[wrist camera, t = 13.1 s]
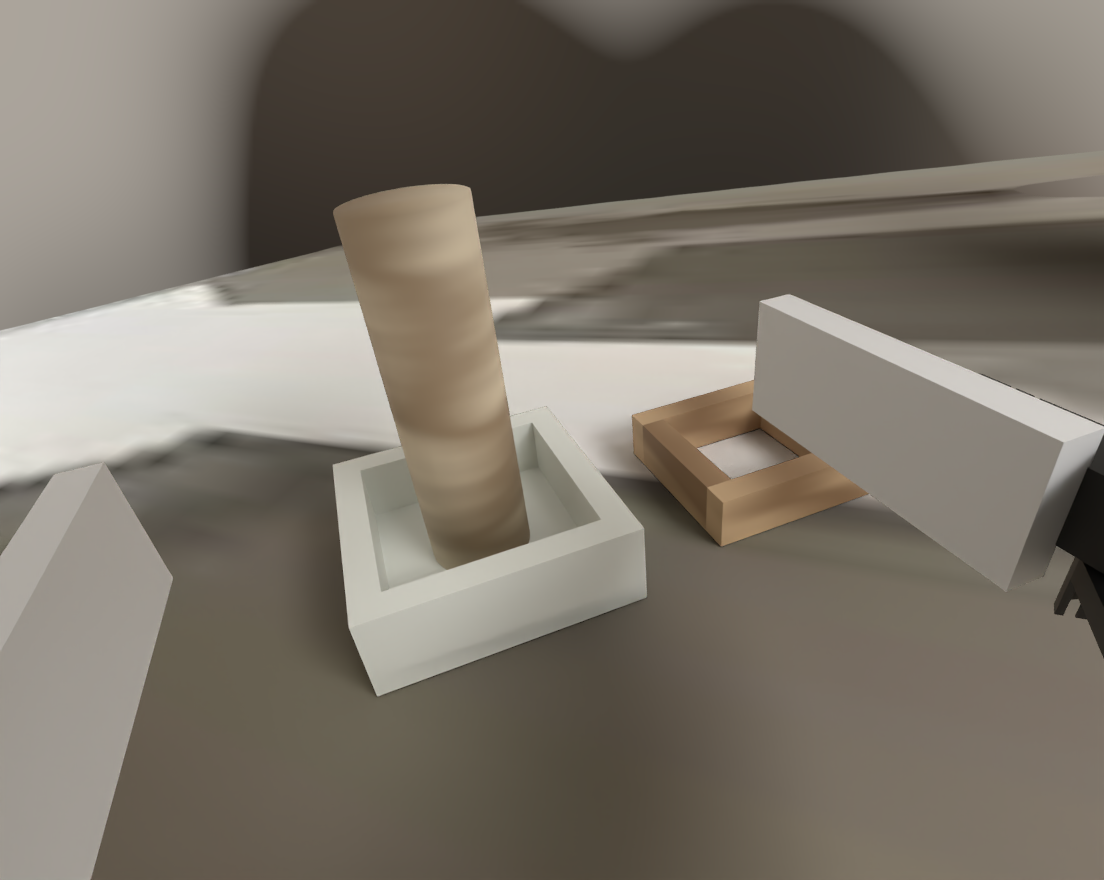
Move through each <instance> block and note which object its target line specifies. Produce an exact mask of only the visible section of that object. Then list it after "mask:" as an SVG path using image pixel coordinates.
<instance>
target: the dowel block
mask: <svg viewBox="0 0 1104 880" xmlns="http://www.w3.org/2000/svg"><path fill="white" fill-rule="evenodd" d="M753 390H754V380H752V381H749V382H745V383H742V384H738V385H735V386H731V387H728V388H724V389H721V390H717V391H714V392H711V393H707V394H704V395H700V396H697V397H693V398H690V399H686V400H683V401H679V402H676V403H672V404H669V405H665V406H662V407H658V408H655V409H651V410H648V411H645V412H641V413H638V414H634V415H632V426H633V447H634V454H635V455H636V456H637V457H638V458H639V459H640V460H641V461H642V463H643V464H644V465H645V466H646V467H647V468H648V469H649V470H650V471H651V472H652V473H653V474H654V475H655V476H656V478H657V479H658V480H659V481H660V482H661V483H662V484H663V485H664V486H665V487H666V488H667V489H668V490H669V491H670V493H671V494H672V495H673V496H674V497H675V498H676V499H677V500H678V501H679V502H680V503H681V504H682V505H683V506H684V507H685V509H686V510H687V511H688V512H689V513H690V514H691V515H692V516H693V517H694V518H695V519H696V520H697V521H698V522H699V524H700V525H701V526H702V527H703V528H704V529H705V530H706V531H707V532H708V533H709V534H710V535H711V536H712V537H713V539H714V540H715V541H716V542H717V543H718V544H719V545H720V546H721V547H722V546H724V545H727V544H730V543H733V542H736V541H738V540H741V539H744V538H747V537H750V536H752V535H755V534H758V533H761V532H764V531H766V530H769V529H772V528H775V527H778V526H780V525H783V524H786V523H789V522H791V521H794V520H797V519H800V518H803V517H805V516H808V515H811V514H814V513H817V512H819V511H822V510H825V509H828V508H831V507H833V506H836V505H839V504H842V503H845V502H847V501H850V500H853V499H856V498H859V497H861V496H864V495H867V494H869V493H867V492H866V491H865V490H863V489H862V488H860V487H859V486H858V485H856V484H855V483H853V482H852V481H851V480H849V479H848V478H846V477H845V476H844V475H842V474H841V473H839V472H838V471H837V470H835V469H834V468H832V467H831V466H830V465H828V464H827V463H825V462H824V461H823V460H821V459H820V458H818V457H817V456H816V455H814V454H813V453H811V452H810V451H809V450H807V449H806V448H804V447H803V446H802V445H800V444H799V443H797V442H796V441H795V440H793V439H792V438H790V437H789V436H788V435H786V434H785V433H783V432H782V431H781V430H779V429H778V428H776V427H775V426H774V425H772V424H771V423H769V422H768V421H767V420H765V419H764V418H762V417H761V416H760V415H758V414H757V413H756V412H754V411H753V410H752V404H753ZM759 428H761V429H762V430H764V431H765V432H766V433H768V434H769V435H771V436H772V437H773V438H775V439H776V440H777V441H779V442H780V443H782V444H783V445H784V446H786V447H787V448H788V449H790V450H791V451H793V452H794V453H795V454H797V455H798V456H800V457H798V458H795V459H792V460H789V461H786V462H783V463H780V464H777V465H774V466H771V467H768V468H765V469H762V470H759V471H756V472H753V473H750V474H747V475H744V476H741V477H737V478H734V479H730V478H729V477H728V476H727V475H726V474H725V473H723V472H722V471H721V470H720V469H719V468H718V467H717V466H716V465H714V464H713V463H712V462H711V461H710V460H709V459H708V458H707V457H705V456H704V455H703V454H702V453H701V452H700V451H699V450H698V449H697V448H698V447H701V446H704V445H707V444H711V443H714V442H717V441H720V440H724V439H727V438H730V437H733V436H736V435H740V434H743V433H746V432H749V431H753V430H756V429H759Z"/></svg>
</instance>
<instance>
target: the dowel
mask: <svg viewBox="0 0 1104 880" xmlns="http://www.w3.org/2000/svg"><path fill="white" fill-rule="evenodd" d="M333 214H334V217H335V221H336V224H337V228H338V231H339V235H340V238H341V242H342V245H343V248H344V252H345V255H346V259H347V262H348V265H349V269H350V272H351V275H352V279H353V282H354V286H355V289H356V292H357V296H358V299H359V303H360V306H361V309H362V313H363V316H364V319H365V323H366V326H367V330H368V333H369V336H370V340H371V343H372V347H373V350H374V353H375V357H376V360H377V364H378V367H379V370H380V374H381V377H382V380H383V384H384V387H385V391H386V394H387V397H388V401H389V404H390V408H391V411H392V414H393V418H394V421H395V424H396V428H397V431H398V435H399V438H400V441H401V445H402V448H403V452H404V455H405V458H406V462H407V465H408V469H409V472H410V475H411V479H412V482H413V485H414V489H415V492H416V496H417V499H418V502H419V506H420V509H421V513H422V516H423V519H424V523H425V526H426V530H427V533H428V536H429V540H430V543H431V546H432V550H433V553H434V556H435V559H436V560H437V562H438V563H439V564H440V565H441V566H442V567H443V568H445V569H446V570H449V569H452V568H455V567H458V566H461V565H464V564H467V563H470V562H473V561H476V560H480V559H483V558H486V557H489V556H492V555H495V554H498V553H501V552H504V551H507V550H510V549H513V548H516V547H519V546H522V545H525V544H528V543H529V539H530V529H529V524H528V518H527V512H526V506H525V500H524V495H523V489H522V483H521V477H520V472H519V466H518V460H517V454H516V448H515V443H514V437H513V431H512V425H511V420H510V414H509V408H508V402H507V396H506V391H505V385H504V379H503V373H502V368H501V362H500V356H499V350H498V344H497V339H496V333H495V327H494V321H493V316H492V310H491V304H490V298H489V292H488V287H487V281H486V275H485V269H484V264H483V258H482V252H481V246H480V240H479V235H478V229H477V223H476V217H475V212H474V206H473V200H472V195H471V190H470V188H469V187H466V186H463V185H455V184H433V185H421V186H412V187H405V188H399V189H393V190H388V191H383V192H379V193H375V194H370V195H367V196H363V197H360V198H357V199H354V200H351V201H348V202H346V203H344V204H342V205H340V206H338V207H337V208H336V209H335V210H334V211H333Z"/></svg>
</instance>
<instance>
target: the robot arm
mask: <svg viewBox="0 0 1104 880" xmlns="http://www.w3.org/2000/svg"><path fill="white" fill-rule="evenodd" d="M752 410H753V411H754V412H756V413H757V414H758V415H760V416H761V417H762V418H764V419H765V420H767V421H768V422H769V423H771V424H772V425H774V426H775V427H776V428H778V429H779V430H781V431H782V432H783V433H785V434H786V435H788V436H789V437H790V438H792V439H793V440H795V441H796V442H797V443H799V444H800V445H802V446H803V447H804V448H806V449H807V450H809V451H810V452H811V453H813V454H814V455H816V456H817V457H818V458H820V459H821V460H823V461H824V462H825V463H827V464H828V465H830V466H831V467H832V468H834V469H835V470H837V471H838V472H839V473H841V474H842V475H844V476H845V477H846V478H848V479H849V480H851V481H852V482H853V483H855V484H856V485H858V486H859V487H860V488H862V489H863V490H865V491H866V492H867V493H869V494H870V495H871V496H873V497H874V498H876V499H877V500H878V501H880V502H881V503H883V504H884V505H885V506H887V507H888V508H890V509H891V510H892V511H894V512H895V513H897V514H898V515H899V516H901V517H902V518H904V519H905V520H906V521H908V522H909V523H911V524H912V525H913V526H915V527H916V528H918V529H919V530H920V531H922V532H923V533H925V534H926V535H927V536H929V537H930V538H932V539H933V540H934V541H936V542H937V543H939V544H940V545H941V546H943V547H944V548H946V549H947V550H948V551H950V552H951V553H953V554H954V555H955V556H957V557H958V558H960V559H961V560H962V561H964V562H965V563H967V564H968V565H969V566H971V567H972V568H974V569H975V570H976V571H978V572H979V573H980V574H982V575H983V576H985V577H986V578H987V579H989V580H990V581H992V582H993V583H994V584H996V585H997V586H999V587H1000V588H1001V589H1003V590H1004V591H1006V592H1007V591H1009V590H1012V589H1014V588H1017V587H1019V586H1022V585H1024V584H1026V583H1029V582H1031V581H1034V580H1036V579H1039V578H1041V577H1043V576H1044V574H1045V572H1046V569H1047V567H1048V565H1049V562H1050V560H1051V557H1052V555H1053V553H1054V550H1055V548H1056V546H1058V547H1060V548H1061V549H1063V550H1065V551H1066V552H1068V553H1070V554H1071V555H1073V556H1075V558H1074V561H1073V563H1072V565H1071V567H1070V570H1069V572H1068V574H1067V576H1066V578H1065V581H1064V583H1063V585H1062V587H1061V589H1060V592H1059V594H1058V596H1057V598H1056V601H1055V603H1054V614H1057V615H1064V612H1065V610H1066V608H1067V606H1068V604H1069V602H1070V600H1072V599H1079V601H1080V603H1081V605H1080V607H1079V609H1078V611H1077V613H1076V615H1075V617H1076V618H1081V619H1087V620H1088V622H1089V625H1090V627H1091V629H1092V632H1093V634H1094V636H1095V639H1096V641H1097V644H1098V646H1099V648H1100V651H1101V653H1102V655H1103V658H1104V425H1102V424H1100V423H1097V422H1095V421H1093V420H1090V419H1088V418H1086V417H1083V416H1081V415H1078V414H1076V413H1074V412H1071V411H1069V410H1066V409H1064V408H1062V407H1059V406H1057V405H1054V404H1052V403H1050V402H1047V401H1045V400H1043V399H1037V398H1035V397H1034V396H1033V395H1031V394H1028V393H1026V392H1023V391H1021V390H1019V389H1013V388H1011V386H1009V385H1007V384H1004V383H1002V382H1000V381H997V380H995V379H992V378H990V377H988V376H985V375H983V374H979V373H975V372H973V371H971V370H968V369H966V368H964V367H961V366H959V365H956V364H954V363H952V362H949V361H947V360H945V359H942V358H940V357H937V356H935V355H933V354H930V353H928V352H926V351H923V350H921V349H918V348H916V347H914V346H911V345H909V344H906V343H904V342H902V341H899V340H897V339H895V338H892V337H890V336H887V335H885V334H883V333H880V332H878V331H876V330H873V329H871V328H868V327H866V326H864V325H861V324H859V323H857V322H854V321H852V320H849V319H847V318H845V317H842V316H840V315H838V314H835V313H833V312H830V311H828V310H826V309H823V308H821V307H819V306H816V305H814V304H811V303H809V302H807V301H804V300H802V299H800V298H797V297H795V296H792V295H790V294H788V295H784V296H780V297H776V298H771V299H767V300H763V301H760V304H759V318H758V333H757V347H756V361H755V376H754V390H753V404H752ZM172 580H173V577H172V575H171V574H170V572H169V570H168V569H167V567H166V565H165V564H164V562H163V560H162V559H161V557H160V555H159V554H158V552H157V550H156V548H155V547H154V545H153V543H152V542H151V540H150V538H149V537H148V535H147V533H146V532H145V530H144V528H143V527H142V525H141V523H140V522H139V520H138V518H137V516H136V515H135V513H134V511H133V510H132V508H131V506H130V505H129V503H128V501H127V500H126V498H125V496H124V495H123V493H122V491H121V490H120V488H119V486H118V485H117V483H116V481H115V479H114V478H113V476H112V474H111V473H110V471H109V469H108V468H107V466H106V464H105V463H104V462H102V463H98V464H93V465H89V466H85V467H81V468H77V469H73V470H69V471H65V472H61V473H57V474H54V475H53V477H52V478H51V480H50V481H49V483H48V484H47V486H46V487H45V489H44V490H43V492H42V494H41V495H40V497H39V498H38V500H37V501H36V503H35V504H34V506H33V507H32V509H31V510H30V512H29V513H28V515H27V516H26V518H25V519H24V521H23V522H22V524H21V525H20V527H19V528H18V530H17V532H16V533H15V535H14V536H13V538H12V539H11V541H10V542H9V544H8V545H7V547H6V548H5V550H4V551H3V553H2V554H1V556H0V880H91V877H92V873H93V870H94V866H95V862H96V859H97V855H98V851H99V848H100V844H101V840H102V837H103V833H104V829H105V826H106V822H107V818H108V815H109V811H110V807H111V804H112V800H113V796H114V793H115V789H116V785H117V782H118V778H119V774H120V771H121V767H122V763H123V760H124V756H125V752H126V749H127V745H128V741H129V738H130V734H131V731H132V727H133V723H134V720H135V716H136V712H137V709H138V705H139V701H140V698H141V694H142V690H143V687H144V683H145V679H146V676H147V672H148V668H149V665H150V661H151V657H152V654H153V650H154V646H155V643H156V639H157V635H158V632H159V628H160V624H161V621H162V617H163V613H164V610H165V606H166V602H167V599H168V595H169V591H170V588H171V584H172Z"/></svg>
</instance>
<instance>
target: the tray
mask: <svg viewBox="0 0 1104 880" xmlns="http://www.w3.org/2000/svg"><path fill="white" fill-rule="evenodd" d="M510 420H511V425H512V431H513V437H514V443H515V448H516V454H517V460H518V466H519V472H520V477H521V483H522V489H523V495H524V500H525V506H526V512H527V518H528V524H529V529H530V539H529V543H528V544H525V545H522V546H519V547H516V548H513V549H510V550H507V551H504V552H501V553H498V554H495V555H492V556H489V557H486V558H483V559H480V560H476V561H473V562H470V563H467V564H464V565H461V566H458V567H455V568H452V569H449V570H446V569H445V568H443V567H442V566H441V565H440V564H439V563H438V562H437V560H436V559H435V556H434V553H433V550H432V546H431V543H430V540H429V536H428V533H427V530H426V526H425V523H424V519H423V516H422V513H421V509H420V506H419V502H418V499H417V496H416V492H415V489H414V485H413V482H412V479H411V475H410V472H409V469H408V465H407V462H406V458H405V455H404V452H403V448H402V446H399V447H396V448H392V449H389V450H385V451H381V452H378V453H374V454H370V455H367V456H363V457H359V458H356V459H352V460H348V461H345V462H341V463H337V464H334V465H333V473H334V484H335V494H336V504H337V514H338V524H339V534H340V544H341V555H342V565H343V575H344V585H345V595H346V605H347V615H348V625H349V630H350V632H351V635H352V637H353V639H354V642H355V644H356V647H357V649H358V651H359V654H360V656H361V659H362V661H363V664H364V666H365V668H366V671H367V673H368V676H369V678H370V680H371V683H372V685H373V688H374V690H375V692H376V695H377V697H378V696H380V695H383V694H386V693H388V692H391V691H394V690H397V689H399V688H402V687H405V686H407V685H410V684H413V683H416V682H418V681H421V680H424V679H426V678H429V677H432V676H435V675H437V674H440V673H443V672H445V671H448V670H451V669H454V668H456V667H459V666H462V665H465V664H467V663H470V662H473V661H475V660H478V659H481V658H484V657H486V656H489V655H492V654H494V653H497V652H500V651H503V650H505V649H508V648H511V647H513V646H516V645H519V644H522V643H524V642H527V641H530V640H532V639H535V638H538V637H541V636H543V635H546V634H549V633H551V632H554V631H557V630H560V629H562V628H565V627H568V626H571V625H573V624H576V623H579V622H581V621H584V620H587V619H590V618H592V617H595V616H598V615H600V614H603V613H606V612H609V611H611V610H614V609H617V608H619V607H622V606H625V605H628V604H630V603H633V602H636V601H638V600H641V599H644V598H647V586H646V562H645V538H644V528H643V526H642V525H641V524H640V523H639V521H638V520H637V519H636V518H635V516H634V515H633V514H632V513H631V511H630V510H629V509H628V508H627V506H626V505H625V504H624V502H623V501H622V500H621V499H620V497H619V496H618V495H617V494H616V492H615V491H614V490H613V489H612V487H611V486H610V485H609V484H608V482H607V481H606V480H605V479H604V477H603V476H602V475H601V474H600V472H599V471H598V470H597V469H596V467H595V466H594V465H593V464H592V462H591V461H590V460H589V459H588V457H587V456H586V455H585V454H584V452H583V451H582V450H581V449H580V447H579V446H578V445H577V444H576V442H575V441H574V440H573V439H572V437H571V436H570V435H569V434H568V432H567V431H566V430H565V428H564V427H563V426H562V425H561V423H560V422H559V421H558V420H557V418H556V417H555V416H554V415H553V413H552V412H551V411H550V410H549V408H548V407H547V406H545V407H542V408H538V409H534V410H531V411H527V412H523V413H520V414H516V415H512V416H510Z"/></svg>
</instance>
